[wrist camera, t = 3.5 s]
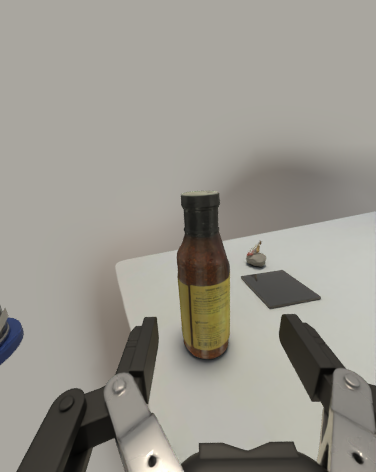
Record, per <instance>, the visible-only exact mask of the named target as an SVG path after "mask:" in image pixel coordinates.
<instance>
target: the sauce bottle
mask: <svg viewBox="0 0 376 472" xmlns="http://www.w3.org/2000/svg"><path fill="white" fill-rule="evenodd" d="M181 205H182V207H183V209H184V222H185V228H184V231H185V236H184V239H183V242H182V245H181V246H180V248H179V250H178V252H177V265H178V286H179V298H180V309H181V321H182V332H183V338H184V343H185V345H186V347H187V349H188V350H189V351H190V352H191V353H192V354H193V355H194V356H196V357H198V358H201V359H212V358H216V357H219V356H220V355H221V354H223V353H224V351H225V350H226V349H227V346H228V338H229V335H230V265H229V261H228V259H227V256H226V253H225V250H224V246H223V243H222V240H221V237H220V234H219V227H218V207H219V205H220V200H219V193H218V192H216V191H194V192H186V193H183V194H182V195H181Z"/></svg>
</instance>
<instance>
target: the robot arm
mask: <svg viewBox="0 0 376 472" xmlns="http://www.w3.org/2000/svg"><path fill="white" fill-rule="evenodd" d="M7 318H8V314H7V311H6V309H4V311H2V309H1V306H0V346H1V345H2V344H3V343H4V342H5V341H6V339H7V338H8V336H9V334H10V331H11V330H10V326H9V324H8V322H7V321H6V320H7ZM279 339H280V342H281V345H282V346H283V348H284V350H285V352H286V354H287V356H288V358H289V360H290V361H291V363H292V365H293V367H294V369H295V371H296V373H297V374H298V376H299V378H300V380H301V382H302V384H303V386H304V388H305V389H306V391H307V393H308V395H309V397H310V399H311V401H312V402H320V401H321V403H322V405H323V407H324V408H323V412H322V422H321V433H320V443H319V452H318V457H317V462H316V461H314V460H313V459H311V458H310V457H308V456H306V455H304V454H302V453H300V452H297V450H296V447H295V445H294V442H269V443H266V444H264V445H261V446H259V447H257V448H254V449H252V450H249V451H247V450H243V449H240V448H237V447H234V446H231V445H227V444H224V443H199V452H198V453H195V454H193V455H192V456H190V457H189V458H187V459H186V460H185V461H184V462H183V463H182V464H181V465H180V463H179V461H178V459H177V457H176V455H175V453H174V451H173V449H172V447H171V445H170V443H169V441H168V439H167V437H166V435H165V433H164V431H163V429H162V427H161V425H160V424H159V422H158V420H157V418H156V416H155V415H154V413H151V412H150V410H149V409H148V406H147V404H148V402H149V396H150V391H151V385H152V379H153V373H154V367H155V361H156V356H157V350H158V342H159V335H158V325H157V317H145V318H144V320H143V324H142V326H136V327H135V328H134V329H133V330H132V331H131V333H130V335H129V338H128V342H127V344H126V347H125V349H124V352H123V355H122V357H121V361H120V363H119V366H118V369H117V371H116V374H115V376H113V377H112V378H111V379H110V380H109V381H108V382H107V384H106V385H105V386H104V387H102V388H100V389H97V390H94V391H91V392H89V393H86V394H84V392H83V391H82V390H81V389H78V388H74V389H70V390H68V391H66V392H64V393H62V394H61V395H60V396H59V397H58V398H57V399H56V400H55V401H54V402H53V404H52V405H51V407H50V409H49V411H48V413H47V415H46V417H45V418H44V420H43V422H42V424H41V426H40V428H39V430H38V432H37V434H36V436H35V437H34V439H33V441H32V443H31V445H30V447H29V449H28V451H27V453H26V454H25V456H24V458H23V460H22V462H21V464H20V466H19V468H18V470H17V472H86V469H87V466H88V462H89V459H90V456H91V452H92V449H93V447H95V446H97V445H99V444H101V443H103V442H106V441H108V440H110V439H113V438H115V442H116V445H117V448H118V451H119V454H120V458H121V460H122V464H123V467H124V470H125V472H376V386H375V385H371V384H368V383H367V382H366V381H365V380H364V379H363V378H362V377H361V376H359V375H358V374H356V373H355V372H353V371H351V370H348V369H346V368H345V367H344V366H343V364H342V363H341V362H340V361H339V359H338V358H337V357H336V356H335V354H334V353H333V352H332V351H331V349H330V348H329V347H328V345H327V344H325V342H324V340H323V339H322V338H321V337H320V335H319V334H318V333H317V332H316V330H315V329H314V328H312V327H311V326H310V325H308V324H307V323H302V321H301V320H300V319H299V317H298V316H297V315H296V314H283V315H282V317H281V323H280V330H279Z"/></svg>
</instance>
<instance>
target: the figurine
mask: <svg viewBox="0 0 376 472" xmlns="http://www.w3.org/2000/svg"><path fill="white" fill-rule="evenodd" d="M259 244H261V241H259ZM259 244H258V246H257V245H256V246H257V248H256V249H254V248H255V247H256V246H255V247H254V248H253V249H252V250H253V251H252V253H249V252H248V254H247V258H246V260H247V263H249V264H252V265H253V266H263V265H264V264H265V260H266V256H265V255H264V254H261V253H258V252H259V248H260V246H259ZM250 252H251V249H250Z"/></svg>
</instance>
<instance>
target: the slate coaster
mask: <svg viewBox="0 0 376 472" xmlns="http://www.w3.org/2000/svg"><path fill="white" fill-rule="evenodd" d="M241 279H242V280H243V281H244V282H245V283H246V284H247V285H248V286H249V287H250V288H251V289H252V290H253V291H254V292H255V294H256V295H257V296H258V297H259V298H260V299H261V300H262V301H263V302H264V303H265V304H266V305H267V306H268V307H269V308H270V309H272V308H277V307H283V306H288V305H293V304H298V303H303V302H308V301H313V300H318V299H321V297H320V296H319V295H318V294H316V293H315V292H313V291H312V290H310V289H309V288H308V287H306V286H305V285H303V284H302V283H300V282H299V281H298V280H296V279H295V278H293V277H292V276H290V275H289V274H288V273H286V272H285V271H283V270H280V271H273V272H266V273H260V274H253V275H247V276H241Z"/></svg>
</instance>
